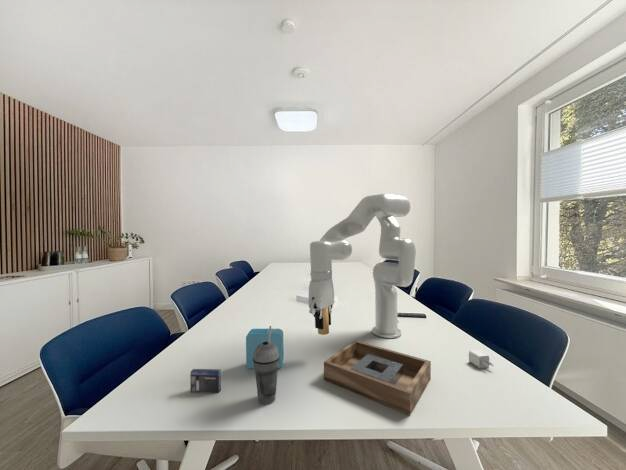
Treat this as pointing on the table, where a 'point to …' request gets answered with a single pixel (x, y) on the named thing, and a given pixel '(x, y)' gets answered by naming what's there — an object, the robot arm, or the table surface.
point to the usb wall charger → (479, 359)
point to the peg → (324, 322)
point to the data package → (257, 338)
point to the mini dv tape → (205, 380)
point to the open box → (393, 396)
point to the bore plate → (379, 368)
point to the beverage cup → (266, 370)
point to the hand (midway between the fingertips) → (323, 325)
